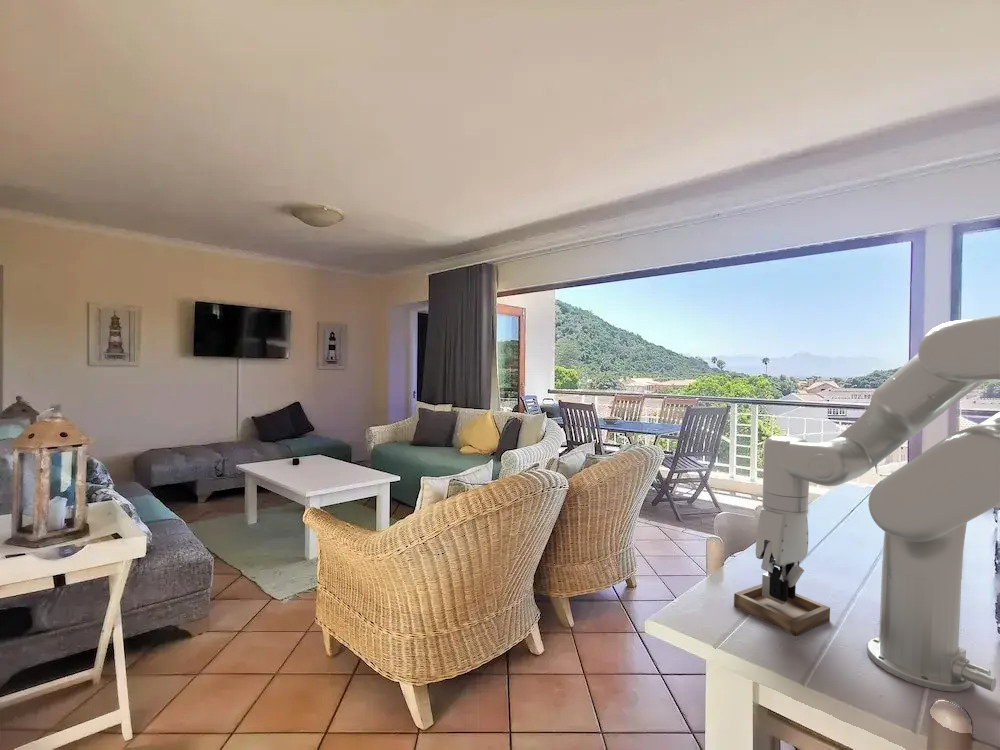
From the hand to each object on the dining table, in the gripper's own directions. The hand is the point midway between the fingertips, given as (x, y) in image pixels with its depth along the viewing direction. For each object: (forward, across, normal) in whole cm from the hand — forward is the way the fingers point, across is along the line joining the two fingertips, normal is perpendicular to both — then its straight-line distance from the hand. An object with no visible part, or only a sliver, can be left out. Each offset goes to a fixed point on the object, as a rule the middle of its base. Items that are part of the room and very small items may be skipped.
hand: (782, 596), depth 93 cm
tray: (+3, 0, 0) cm, 3 cm away
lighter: (+1, 0, 0) cm, 1 cm away
